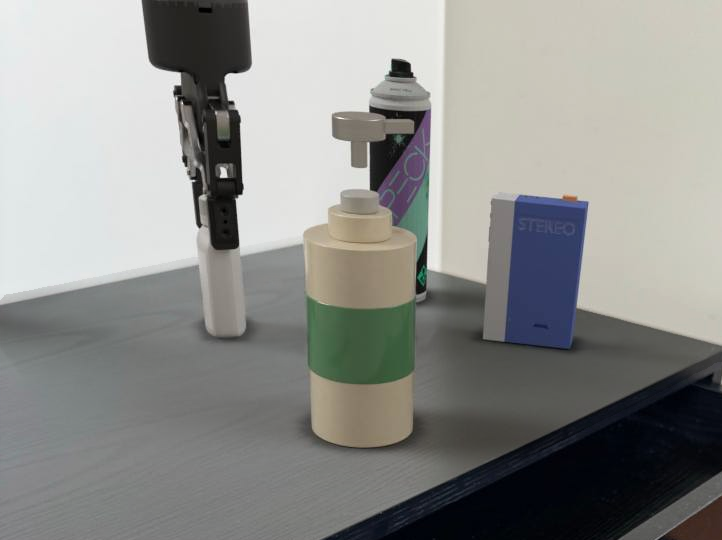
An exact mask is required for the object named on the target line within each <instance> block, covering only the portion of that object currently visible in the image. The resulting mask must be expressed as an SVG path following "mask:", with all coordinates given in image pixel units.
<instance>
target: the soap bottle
mask: <svg viewBox="0 0 722 540" xmlns="http://www.w3.org/2000/svg"><path fill="white" fill-rule="evenodd" d="M339 196H340V197H339V198H340V200H339V202H340V203H339V204H335V205H332V206H329V207H328V209H327V223H322V224H321V223H320V224H317V225H313V226H310V227H309V228H308V227H307V229H305V230H304V231H303V233H302V245H303V266H304V268H303V269H304V306H305V307H304V308H305V326H306V328H305V329H306V351H307V367H308V376H309V379H308V380H309V398H310V421H311V422H310V423H311V430H312V431H313V433H314V435H316V436H317V437H318V438H319V439H322V440H323V441H326V442H328V443H332V444H334V445H337V446H342V447H349V448H362V449H363V448H364V449H365V448H380V447H385V446H390V445H394V444H397V443H399V442H403V440H405V439H407V438H408V437H409V436H410V435H411V434H412V432H413V431H414V398H415V397H414V394H415V368H416V332H417V330H416V329H417V327H416V326H417V302H416V248H417V238H416V236H415V235H414V234H413V233H412V232H410V231H408V230H405V229H403V228H399V227H396V226H392V212H391V210H390V209H388V208H386V207H383V206H379V194H378V193H377V192H375V191H371V190H370V189H363V188H350V189H344V190H342V191H340V193H339Z"/></svg>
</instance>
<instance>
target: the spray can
mask: <svg viewBox="0 0 722 540" xmlns="http://www.w3.org/2000/svg"><path fill="white" fill-rule="evenodd" d="M390 59H391V61H390V70H388V74H384V75H383V76H384V77H383V79H384V80H382V81H381V82H379V83H377V85H376V86H375V87H372V88H370V89H369V91H370V93H369V94H370V97H369V99H368V110H369V111H368V112H369V113H376V114H380V115H383V116H385V118H386V119H410V120H412V121H414V134H386V138H385V140H383V141H379V142H368V143H369V145H368V147H369V152H368V153H369V190H371V191H375V192H377V193H378V194H379V206H383V207H386V208H388V209H390V210H391V212H392V226H396V227H399V228H403V229H405V230H408V231H410V232H412V233H413V234H414V235H415V236H416V238H417V248H416V303H420V302H422V301H424V300H426V298H427V285H428V283H427V282H428V277H427V276H428V249H429V248H428V247H429V246H428V243H429V242H428V241H429V237H428V236H429V207H430V206H429V204H430V173H431V171H430V170H431V168H430V167H431V135H432V134H431V131H432V130H431V127H432V102H431V100H430V98H431V92H430V91H427V90H426V89H425V88H424V87H423V86H422V85H421V84H420V83H419V82H417V81H418V79H417V76H415V75H414V71H412V64H411V62H409V61H408V60H406V59H402V58H390Z"/></svg>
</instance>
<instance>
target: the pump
mask: <svg viewBox="0 0 722 540" xmlns="http://www.w3.org/2000/svg"><path fill="white" fill-rule="evenodd" d="M386 134H414V121H412V120H410V119H386V118H385V116H383V115H380V114H376V113H369V111H354V110H353V111H351V110H350V111H348V110H347V111H336V112H333V113H331V136H332V138H334V139H335V140H340V141H344V142H350V167H351V168H355V169H367V168H368V167H369V166H368V165H369V164H368V143H369V142H379V141H383V140H385V138H386Z"/></svg>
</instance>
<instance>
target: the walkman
mask: <svg viewBox="0 0 722 540" xmlns="http://www.w3.org/2000/svg"><path fill="white" fill-rule="evenodd" d="M589 204H590V203H589V201H587V200H578V195H571V194H563V195H562V197H561V198H557V197H549V196H538V195H529V194H518V193H510V192H498V193H497V195H495V194H494V195H493V196H492V197H491V200H490V205H491V206H490V213H489V218H490V221H489V228H488V251H487V266H486V279H485V281H486V283H485V298H484V300H485V301H484V315H483V331H482V340H487V341H495V342H502V343H503V342H504V343H513V344H521V345H530V346H539V347H549V348H557V349H564V350H570V349H571V346H572V342H573V340H574V331H575V324H576V315H577V306H578V298H579V290H580V289H579V288H580V280H581V274H582V273H581V271H582V264H583V256H584V245H585V237H586V229H587V220H588V211H589Z"/></svg>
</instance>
